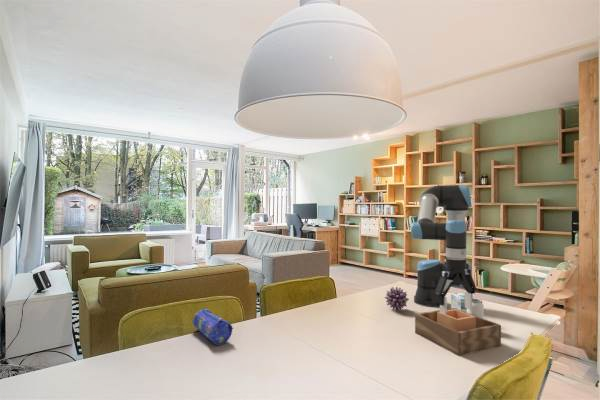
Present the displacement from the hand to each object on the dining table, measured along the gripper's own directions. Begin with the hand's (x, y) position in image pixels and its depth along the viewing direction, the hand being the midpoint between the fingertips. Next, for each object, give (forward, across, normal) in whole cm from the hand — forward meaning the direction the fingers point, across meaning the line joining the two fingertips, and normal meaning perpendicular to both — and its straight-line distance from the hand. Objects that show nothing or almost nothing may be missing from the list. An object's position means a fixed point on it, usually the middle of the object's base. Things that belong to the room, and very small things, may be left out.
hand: (456, 310), depth 130 cm
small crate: (+10, 0, 0) cm, 10 cm away
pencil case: (+11, -92, +38) cm, 100 cm away
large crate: (+11, 0, 0) cm, 11 cm away
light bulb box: (+12, +23, +17) cm, 31 cm away
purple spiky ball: (+12, 0, +38) cm, 39 cm away
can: (+12, +18, +6) cm, 22 cm away
